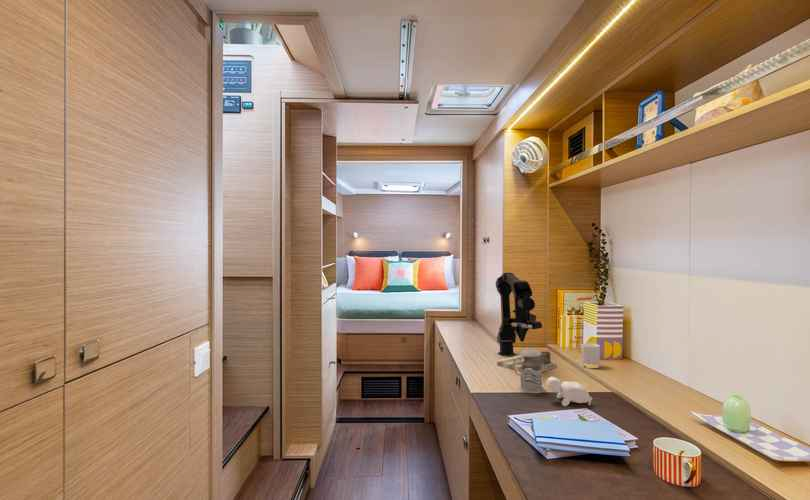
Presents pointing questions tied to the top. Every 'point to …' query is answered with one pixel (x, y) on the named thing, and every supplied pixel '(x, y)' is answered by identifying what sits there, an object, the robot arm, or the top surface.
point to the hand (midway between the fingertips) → (522, 341)
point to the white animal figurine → (568, 391)
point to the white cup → (590, 353)
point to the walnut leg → (543, 354)
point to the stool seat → (518, 364)
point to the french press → (530, 372)
